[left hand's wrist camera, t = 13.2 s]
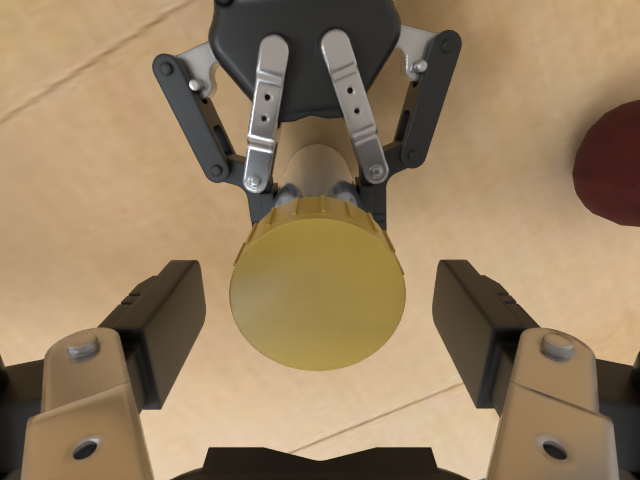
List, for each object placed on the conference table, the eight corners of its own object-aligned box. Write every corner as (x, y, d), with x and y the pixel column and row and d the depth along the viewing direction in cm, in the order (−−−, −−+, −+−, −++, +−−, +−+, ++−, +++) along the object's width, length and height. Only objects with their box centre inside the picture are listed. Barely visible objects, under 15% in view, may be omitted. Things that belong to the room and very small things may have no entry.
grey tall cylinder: (357, 191, 26) (411, 325, 11) (302, 214, 27) (282, 371, 12) (334, 133, 24) (360, 198, 10) (276, 159, 25) (215, 259, 10)
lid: (413, 301, 13) (430, 340, 11) (282, 348, 13) (276, 393, 11) (361, 168, 11) (370, 185, 9) (213, 231, 12) (192, 259, 10)
